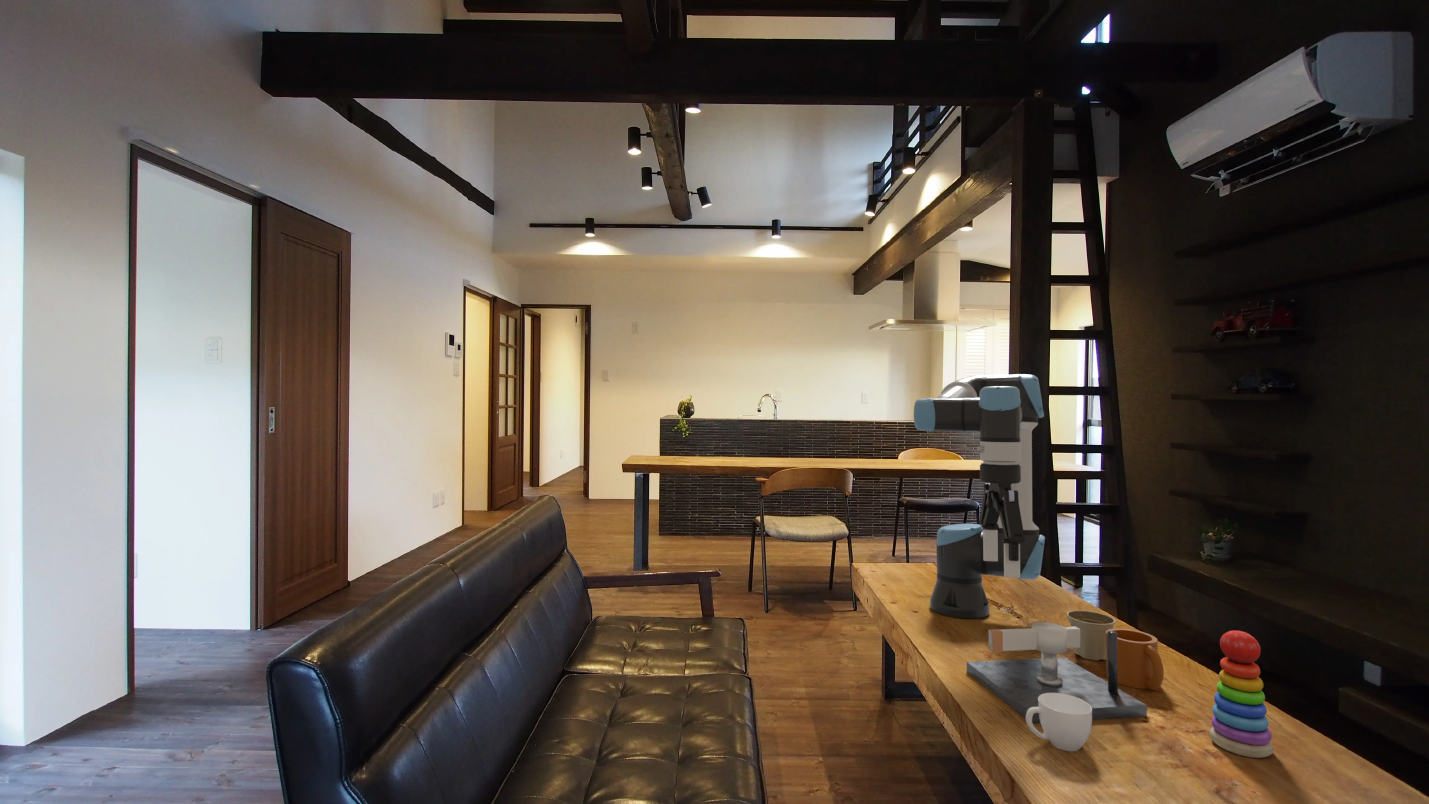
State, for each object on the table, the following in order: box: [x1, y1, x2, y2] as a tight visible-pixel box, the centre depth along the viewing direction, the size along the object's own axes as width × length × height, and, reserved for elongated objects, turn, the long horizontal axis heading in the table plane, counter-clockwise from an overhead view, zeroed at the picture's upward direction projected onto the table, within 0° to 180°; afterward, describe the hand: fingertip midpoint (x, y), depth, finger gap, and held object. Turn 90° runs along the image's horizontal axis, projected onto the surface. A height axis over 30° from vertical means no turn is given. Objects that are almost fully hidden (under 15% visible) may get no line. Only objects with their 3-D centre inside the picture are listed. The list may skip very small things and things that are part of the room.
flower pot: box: [1066, 609, 1117, 662], centre depth 140 cm, size 9×9×9 cm
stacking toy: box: [1208, 630, 1274, 759], centre depth 102 cm, size 8×8×19 cm
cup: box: [1025, 693, 1093, 752], centre depth 102 cm, size 8×10×7 cm
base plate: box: [966, 631, 1148, 724], centre depth 122 cm, size 22×22×13 cm
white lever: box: [988, 621, 1080, 655], centre depth 121 cm, size 18×6×4 cm, turn 97°
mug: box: [1105, 628, 1165, 691], centre depth 126 cm, size 9×12×9 cm
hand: (1000, 568), depth 126 cm, fingers open, 13 cm apart
